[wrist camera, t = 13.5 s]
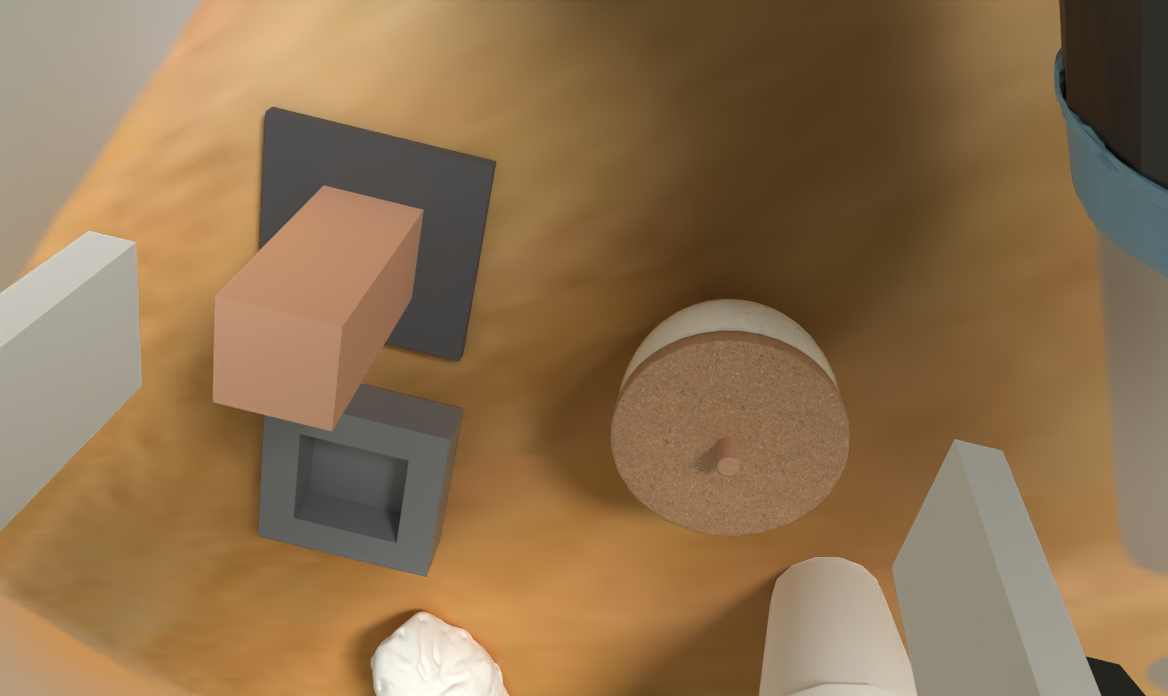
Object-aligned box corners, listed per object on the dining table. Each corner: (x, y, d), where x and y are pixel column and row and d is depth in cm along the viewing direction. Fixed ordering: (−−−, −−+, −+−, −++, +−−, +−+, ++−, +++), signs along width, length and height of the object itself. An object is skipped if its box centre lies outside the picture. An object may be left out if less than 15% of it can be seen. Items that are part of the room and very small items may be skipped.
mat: (496, 161, 47) (492, 167, 47) (463, 353, 53) (459, 361, 52) (272, 106, 47) (265, 111, 47) (262, 304, 53) (256, 311, 52)
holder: (462, 408, 55) (450, 440, 52) (439, 542, 60) (426, 576, 57) (286, 365, 55) (265, 394, 52) (278, 503, 60) (258, 535, 57)
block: (423, 209, 48) (341, 327, 38) (411, 298, 51) (332, 431, 40) (323, 185, 48) (214, 296, 38) (316, 275, 51) (212, 402, 40)
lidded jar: (649, 242, 48) (635, 334, 40) (863, 292, 48) (891, 394, 40) (604, 418, 54) (584, 531, 46) (796, 463, 54) (810, 584, 46)
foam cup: (765, 521, 56) (777, 706, 45) (929, 551, 56) (981, 745, 44) (731, 639, 61) (733, 833, 50) (881, 667, 60) (918, 869, 49)
